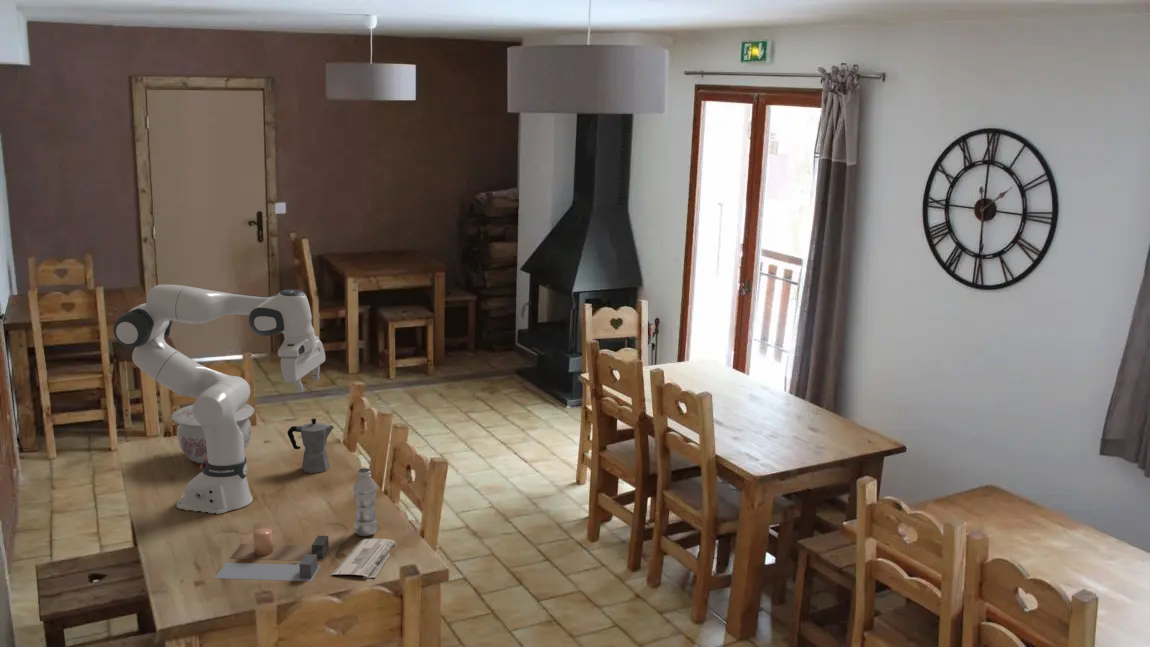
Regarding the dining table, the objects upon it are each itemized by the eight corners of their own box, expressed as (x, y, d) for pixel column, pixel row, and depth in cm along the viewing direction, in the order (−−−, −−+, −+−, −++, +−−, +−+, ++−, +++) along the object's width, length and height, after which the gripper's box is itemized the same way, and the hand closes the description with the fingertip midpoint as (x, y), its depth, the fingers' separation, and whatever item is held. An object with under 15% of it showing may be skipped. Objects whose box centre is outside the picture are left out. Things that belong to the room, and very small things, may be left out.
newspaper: (374, 582, 273) (372, 574, 272) (331, 582, 275) (330, 574, 275) (402, 545, 295) (401, 537, 294) (362, 545, 297) (361, 537, 296)
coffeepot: (335, 462, 356) (333, 413, 352) (335, 472, 347) (333, 422, 343) (289, 465, 353) (287, 415, 348) (288, 475, 344) (286, 424, 340)
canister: (251, 555, 283) (250, 535, 281) (257, 547, 288) (256, 527, 286) (269, 556, 283) (268, 536, 281) (275, 548, 288) (274, 528, 286)
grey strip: (214, 582, 270) (212, 564, 269) (226, 566, 279) (225, 549, 278) (311, 585, 269) (310, 567, 268) (321, 569, 278) (320, 551, 277)
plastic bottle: (355, 529, 303) (353, 466, 299) (378, 529, 304) (377, 466, 299) (352, 539, 297) (350, 474, 292) (376, 538, 298) (374, 474, 293)
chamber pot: (186, 445, 370) (182, 390, 365) (264, 443, 373) (260, 389, 368) (164, 474, 343) (159, 415, 338) (248, 472, 346) (245, 414, 341)
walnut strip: (229, 562, 281) (228, 544, 280) (241, 547, 290) (240, 530, 289) (323, 565, 281) (322, 547, 279) (332, 550, 289) (331, 533, 288)
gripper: (307, 332, 316) (315, 374, 319) (274, 353, 297) (282, 398, 300) (326, 331, 314) (333, 374, 318) (293, 353, 295) (302, 397, 299)
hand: (308, 386), depth 309 cm, fingers open, 8 cm apart
